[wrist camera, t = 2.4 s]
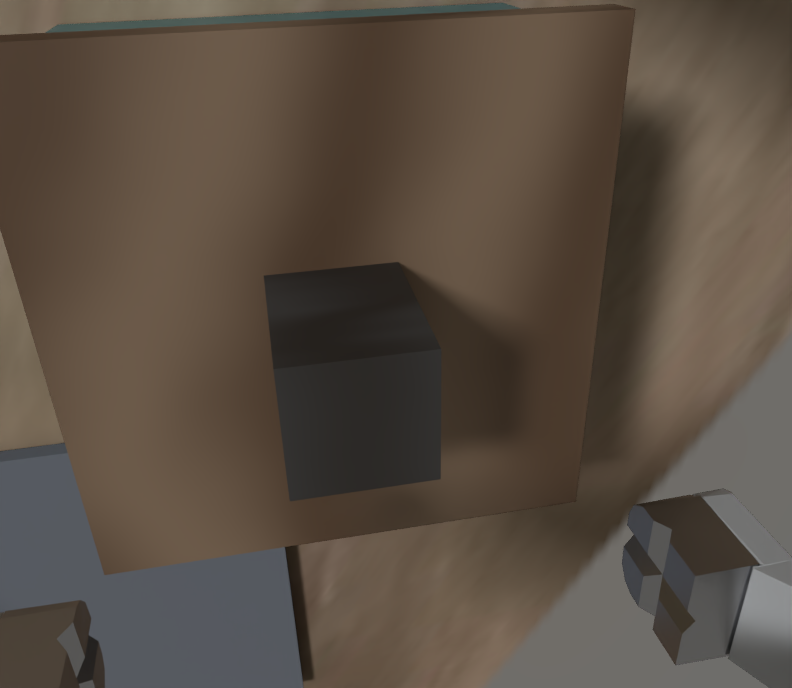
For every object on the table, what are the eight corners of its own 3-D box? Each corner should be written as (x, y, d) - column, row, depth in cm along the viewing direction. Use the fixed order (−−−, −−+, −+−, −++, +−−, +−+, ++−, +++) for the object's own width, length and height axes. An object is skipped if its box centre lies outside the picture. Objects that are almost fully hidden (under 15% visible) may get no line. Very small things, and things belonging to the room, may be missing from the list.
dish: (502, 2, 22) (589, 30, 16) (487, 365, 27) (548, 468, 22) (57, 24, 20) (-2, 63, 15) (145, 407, 26) (124, 531, 20)
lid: (613, 3, 16) (752, 36, 12) (562, 479, 23) (640, 610, 18) (-38, 36, 14) (-152, 90, 10) (109, 547, 21) (79, 713, 16)
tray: (268, 416, 27) (268, 426, 26) (302, 676, 34) (303, 687, 33) (-169, 473, 25) (-177, 485, 24) (-36, 737, 32) (-40, 751, 31)
